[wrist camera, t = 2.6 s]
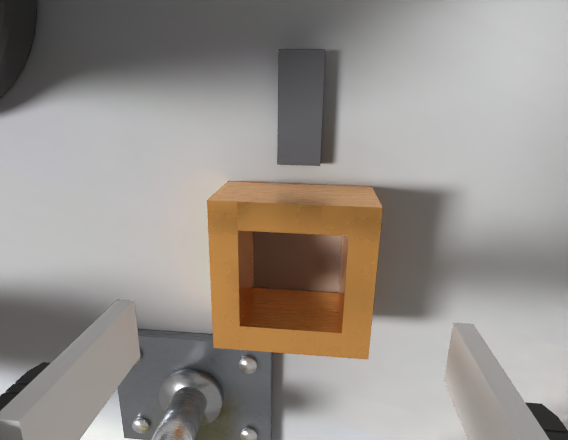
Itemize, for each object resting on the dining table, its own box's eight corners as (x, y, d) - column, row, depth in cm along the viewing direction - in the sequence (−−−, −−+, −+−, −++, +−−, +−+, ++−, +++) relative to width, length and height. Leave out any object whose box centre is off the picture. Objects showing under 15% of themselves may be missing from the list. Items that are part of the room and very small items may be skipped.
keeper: (129, 429, 30) (66, 537, 23) (116, 327, 28) (40, 412, 20) (271, 442, 29) (253, 559, 22) (272, 338, 27) (252, 432, 19)
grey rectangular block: (280, 50, 21) (278, 49, 20) (325, 51, 21) (325, 49, 20) (278, 162, 23) (277, 164, 22) (320, 163, 23) (320, 165, 22)
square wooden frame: (228, 181, 24) (207, 200, 19) (371, 186, 23) (382, 207, 19) (231, 306, 26) (213, 347, 22) (360, 315, 26) (368, 359, 21)
